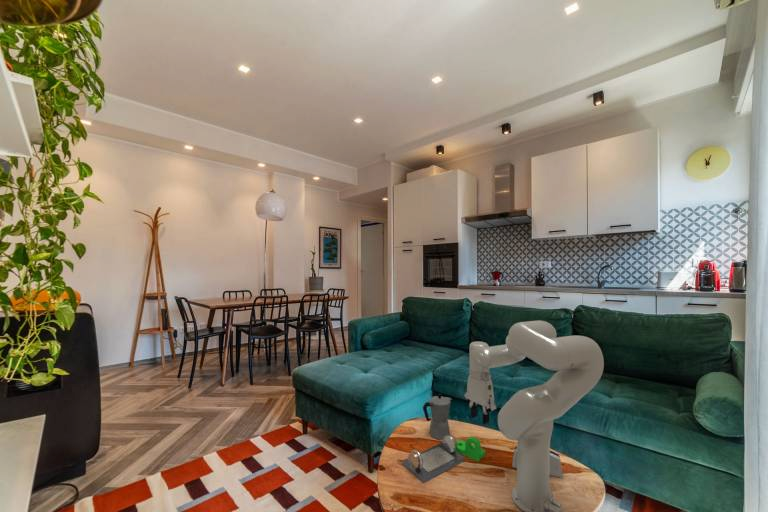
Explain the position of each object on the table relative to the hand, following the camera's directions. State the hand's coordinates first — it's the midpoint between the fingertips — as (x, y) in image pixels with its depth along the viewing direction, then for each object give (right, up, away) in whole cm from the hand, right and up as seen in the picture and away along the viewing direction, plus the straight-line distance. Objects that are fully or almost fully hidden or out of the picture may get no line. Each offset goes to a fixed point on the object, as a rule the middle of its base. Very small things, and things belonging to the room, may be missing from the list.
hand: (479, 419), depth 128 cm
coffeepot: (-14, -15, +15) cm, 25 cm away
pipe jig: (-19, -15, -4) cm, 24 cm away
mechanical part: (-4, -15, +3) cm, 16 cm away
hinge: (+18, -15, -9) cm, 25 cm away
